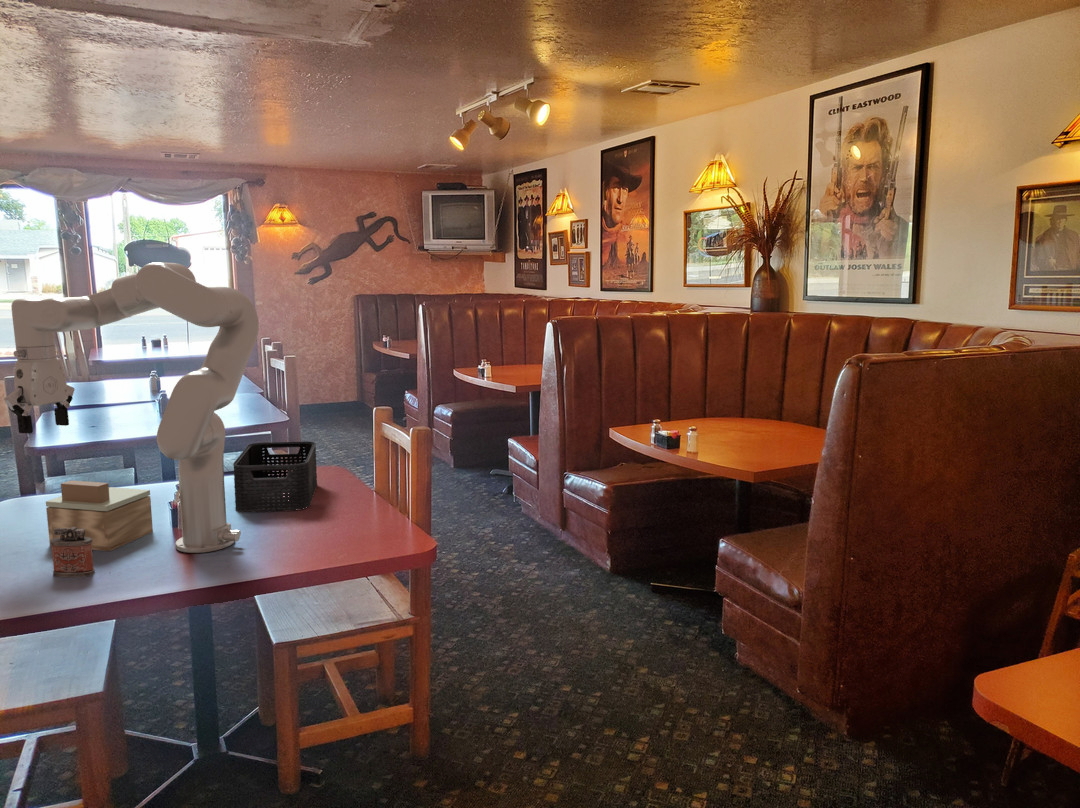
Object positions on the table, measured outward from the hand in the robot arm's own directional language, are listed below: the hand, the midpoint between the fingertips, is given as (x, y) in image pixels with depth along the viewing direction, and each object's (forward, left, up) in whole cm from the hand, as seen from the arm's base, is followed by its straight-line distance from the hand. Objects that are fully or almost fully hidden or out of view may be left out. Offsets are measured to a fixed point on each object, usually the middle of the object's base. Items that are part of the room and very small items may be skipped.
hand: (44, 429), depth 175 cm
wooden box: (-9, -5, -27) cm, 29 cm away
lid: (-9, -5, -18) cm, 20 cm away
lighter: (-20, +16, -27) cm, 37 cm away
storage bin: (-30, -47, -27) cm, 62 cm away
